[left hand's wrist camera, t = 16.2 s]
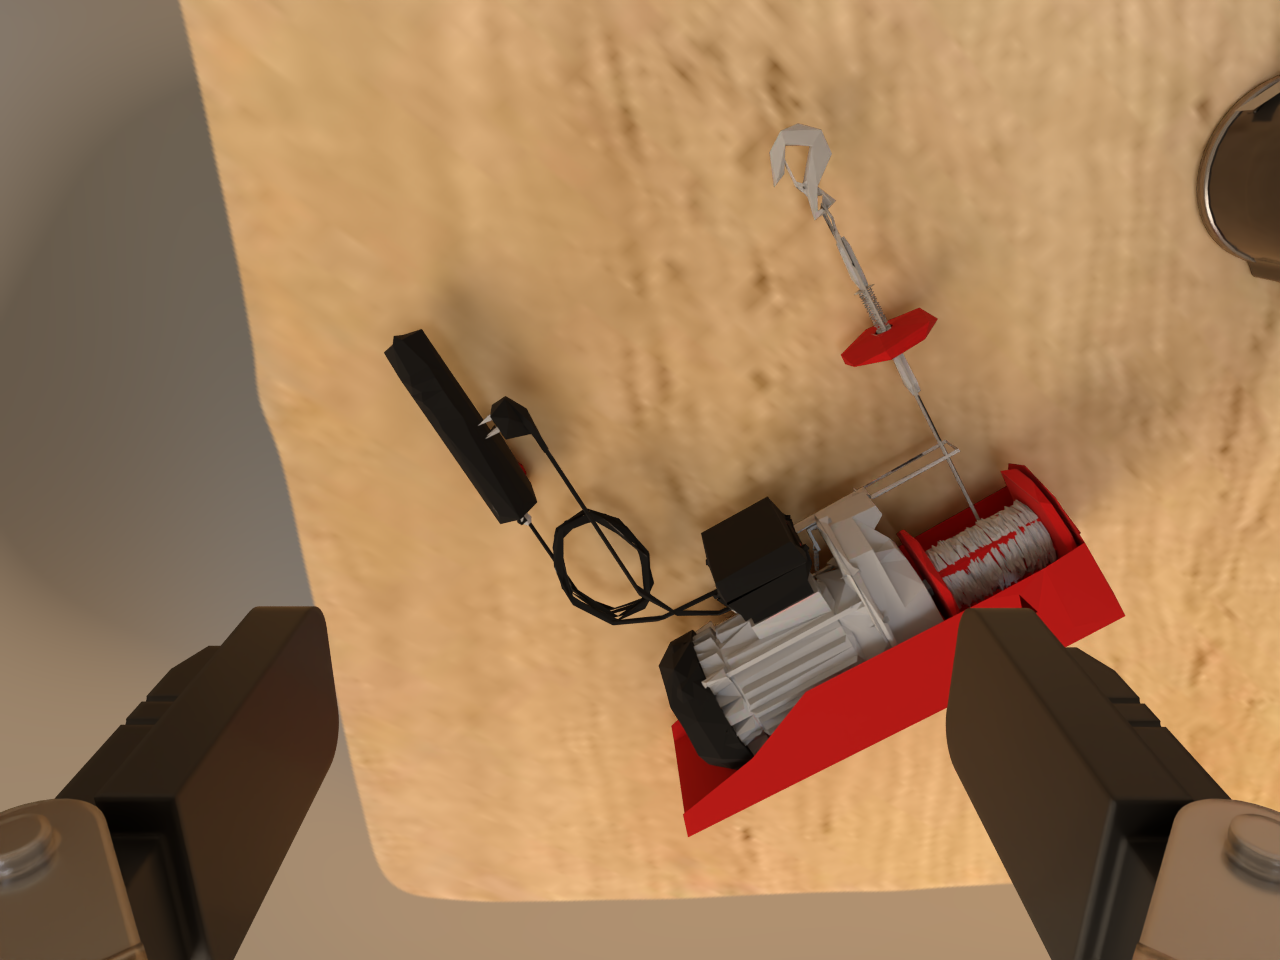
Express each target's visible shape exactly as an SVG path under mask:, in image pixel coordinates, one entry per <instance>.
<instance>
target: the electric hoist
mask: <svg viewBox="0 0 1280 960" xmlns="http://www.w3.org/2000/svg"><path fill="white" fill-rule="evenodd" d="M793 145H802V146H809V152H808V158H807V164H806V169H805V175H804V176H803V177H804V181H803V183H799V182H796V180H795V178H794V176H793V174H792V172H791V170H790V168H789V166H788V164H787V162H786V161H785V146H793ZM769 153H770V160H771V168H772V175H773V183H774V187H775V186H776V184H777V183H778V182H779V180H780V179H781V178H782V176H783V175H784V166H786V168H787V170H788V172H789V174H790V176H791V178H792V180H793V182H794V185H795V187H796V188H797V189H799V190H800V191H801V192H803V193H804V194H805V195H806V196H807V197H808V201H809V204H810V207H811V211H812V214H813V217H814V220H816V219H817V218H819V217H820V216H822V215H823V217H824V219H825V221H826V222H827V224H828V226H829V228H830V230H831V232H832V234H833V236H834V238H835V240H836V241H837V243H836V245H837V247H838V250H839V252H840V254H841V256H842V259H843V261H844V263H845V266H846V268H847V270H848V273H849V275H850V277H851V279H852V281H853V282H854V283H855V284H856V286H857V287H858V288H859V289H860V290H858V291H857V292H856V293H855V294H854V295H857V294H859V296H860V298H861V299H862V300H863V298H864V297H865V298H864V300H863V301H861V302H864V303H863V304H865V305H864V306H866V307H865V308H867V312H869V314H870V315H869V317H870V316H872V317H873V316H874V318H875V319H872V317H871V318H870V319H872V320H874V321H875V320H876V322H874V321H873V323H874V324H873V325H875V324H876V325H875V326H873V327H871V328H868V329H866V330H865V331H864V332H863V333H862V334H861V335H860V336H859V337H858V338H857V339H856V340H855V341H854V342H853V343H852V344H851V345H850V346H849V347H848V348H847V349H846V350H845V351H844V352H843V353H842V354H841V356H842V358H843V360H844V362H845V364H847V365H850V366H853V367H857V366H862V365H867V364H872V363H877V362H882V361H887V360H892V359H893V360H894V363H895V365H896V367H897V370H898V372H899V374H900V377H901V379H902V381H903V384H904V385H905V387H906V388H907V389H908V390H909V391H910V393H911V394H912V395H913V396H915V398H916V400H917V402H918V404H919V406H920V408H921V410H922V412H923V414H924V416H925V418H926V420H927V422H928V424H929V426H930V428H931V430H932V432H933V434H934V436H935V438H936V440H937V442H938V444H937V445H935V446H933V447H932V448H930V449H928V450H926V451H925V452H923V453H921V454H919V455H918V456H916V457H914V458H912V459H911V460H909V461H907V462H905V463H904V464H902V465H900V466H898V467H897V468H895V469H893V470H891V471H890V472H888V473H886V474H884V475H883V476H881V477H879V478H877V479H876V480H874V481H872V482H870V483H869V484H867V485H865V486H863V487H862V488H860V489H858V490H857V489H855V488H854V487H853V491H854V492H852V493H851V494H849V495H847V496H845V497H843V498H841V499H840V500H838V501H836V502H834V503H832V504H831V505H829V506H827V507H825V508H824V509H822V510H820V511H818V512H816V513H815V514H813V515H811V516H809V517H807V518H806V519H804V520H802V521H800V522H798V523H797V524H795V525H793V522H792V519H790V516H791V515H785V514H783V513H782V512H781V511H780V510H779V509H778V508H777V507H776V505H775V504H774V503H773V502H772V501H771V500H770V499H769V498H768V497H766V498H764V499H762V500H761V501H759V502H757V503H755V504H753V505H751V506H750V507H748V508H746V509H744V510H742V511H741V512H739V513H737V514H735V515H733V516H731V517H730V518H728V519H726V520H724V521H722V522H721V523H719V524H717V525H715V526H713V527H712V528H710V529H708V530H706V531H704V532H702V533H701V535H702V540H703V544H704V549H705V553H706V558H707V559H706V565H708V566H709V568H710V570H711V573H712V576H713V578H714V581H715V584H716V588H717V589H715V590H713V591H711V592H709V593H707V594H705V595H703V596H701V597H699V598H697V599H695V600H693V601H691V602H689V603H687V604H685V605H683V606H681V607H679V608H677V609H675V610H673V609H671V608H670V607H668V606H667V605H665V604H664V603H663V602H661V601H660V600H658V599H657V598H655V597H654V596H652V595H651V594H650V591H651V588H652V586H653V584H654V581H653V577H652V573H651V569H650V558H649V551H648V550H647V549H646V548H645V547H644V546H643V545H642V544H641V543H640V541H639V540H638V539H637V538H636V537H635V536H634V534H633V533H632V532H631V531H630V530H629V528H628V527H627V526H625V525H624V524H623V522H622V521H621V520H620V519H619V518H616V517H612V516H609V515H607V514H603V513H600V512H597V511H593V510H590V509H587V508H586V506H585V505H584V503H583V502H582V500H581V499H580V497H579V496H578V494H577V493H576V491H575V490H574V488H573V487H572V485H571V484H570V482H569V480H568V479H567V477H566V476H565V474H564V473H563V471H562V470H561V468H560V467H559V465H558V464H557V462H556V461H555V459H554V458H553V456H552V455H551V453H550V451H549V450H548V447H547V445H546V444H545V442H544V440H543V439H542V437H541V435H540V433H539V431H538V429H537V427H536V426H535V424H534V422H533V420H532V418H531V416H530V414H529V412H528V410H527V409H526V408H525V407H523V406H521V405H520V404H518V403H516V402H515V401H513V400H511V399H509V398H508V397H506V396H505V397H503V398H502V399H500V400H499V401H497V402H496V403H494V404H493V405H492V408H491V414H490V415H489V416H488V417H487V418H486V419H484V420H483V418H482V417H481V416H480V414H479V413H478V411H477V410H476V408H475V407H474V405H473V404H472V402H471V401H470V399H469V398H468V396H467V395H466V394H465V392H464V391H463V389H462V388H461V386H460V385H459V383H458V382H457V380H456V379H455V377H454V376H453V374H452V373H451V371H450V370H449V369H448V367H447V366H446V364H445V363H444V361H443V360H442V358H441V357H440V355H439V354H438V352H437V351H436V349H435V348H434V346H433V345H432V344H431V342H430V341H429V339H428V338H427V336H426V335H425V333H424V332H423V330H422V329H421V330H417V331H414V332H411V333H408V334H405V335H399V336H394V339H393V345H392V346H391V347H389V348H388V349H387V350H386V351H385V352H384V354H385V355H386V357H387V359H388V360H389V362H390V363H391V365H392V367H393V368H394V370H395V372H396V373H397V375H398V377H399V378H400V380H401V381H402V383H403V384H404V386H405V387H406V389H407V390H408V391H409V393H410V394H411V396H412V397H413V399H414V400H415V401H416V403H417V404H418V406H419V407H420V409H421V410H422V411H423V413H424V414H425V416H426V417H427V419H428V420H429V422H430V423H431V424H432V426H433V427H434V429H435V430H436V432H437V433H438V435H439V436H440V437H441V439H442V440H443V442H444V443H445V445H446V446H447V448H448V449H449V450H450V452H451V453H452V455H453V456H454V458H455V459H456V461H457V462H458V464H459V465H460V466H461V468H462V469H463V471H464V472H465V474H466V475H467V477H468V478H469V479H470V481H471V482H472V484H473V485H474V487H475V488H476V490H477V491H478V492H479V494H480V495H481V497H482V498H483V500H484V501H485V503H486V504H487V505H488V507H489V508H490V510H491V511H492V513H493V514H494V516H495V517H496V518H497V520H498V521H499V523H500V524H503V523H507V522H511V521H515V520H517V522H518V523H519V524H521V525H523V524H525V525H529V526H530V528H531V529H532V531H533V532H534V534H535V535H536V537H537V538H538V540H539V541H540V542H541V544H542V545H543V547H544V548H545V550H546V551H547V553H548V554H549V555H550V557H551V558H552V560H553V561H554V568H555V570H556V573H557V575H558V578H559V580H560V583H561V587H562V589H563V590H564V592H565V593H566V595H567V596H568V598H569V600H570V601H571V603H572V604H573V605H574V606H576V607H578V608H580V609H582V610H584V611H586V612H588V613H590V614H592V615H594V616H596V617H598V618H600V619H601V620H603V621H605V622H607V623H609V624H611V625H621V624H633V623H644V622H655V621H660V620H663V619H666V618H668V617H670V616H672V615H674V614H675V615H677V616H694V615H721V614H723V613H726V612H728V611H730V610H732V611H734V612H735V613H738V614H737V615H735V616H733V617H731V618H729V619H727V620H725V621H724V622H722V623H720V624H718V625H716V626H714V625H713V623H712V622H711V621H710V622H709V623H707V624H706V625H705V626H703V627H702V628H700V629H699V630H697V631H696V632H694V631H693V630H691V631H690V632H688V633H686V634H684V635H683V636H681V637H679V638H677V639H675V640H674V641H672V642H670V644H669V646H668V648H667V650H666V652H665V654H664V656H663V658H662V660H661V662H660V664H659V668H660V671H661V675H662V678H663V682H664V685H665V689H666V692H667V696H668V700H669V704H670V708H671V709H672V711H673V712H674V714H675V716H676V717H677V719H678V720H677V721H676V722H675V723H674V724H673V725H672V732H673V738H674V744H675V751H676V758H677V764H678V771H679V778H680V785H681V792H682V799H683V806H684V812H685V813H684V814H683V816H684V821H685V825H686V830H687V834H688V837H690V836H692V835H694V834H696V833H698V832H700V831H702V830H704V829H706V828H708V827H710V826H712V825H714V824H716V823H718V822H720V821H722V820H724V819H726V818H728V817H730V816H732V815H734V814H736V813H738V812H740V811H742V810H744V809H746V808H748V807H750V806H752V805H754V804H756V803H758V802H760V801H762V800H764V799H766V798H767V797H769V796H771V795H773V794H775V793H777V792H779V791H781V790H783V789H785V788H787V787H789V786H791V785H793V784H795V783H797V782H799V781H801V780H803V779H805V778H807V777H809V776H811V775H813V774H815V773H817V772H819V771H821V770H823V769H825V768H827V767H829V766H831V765H833V764H835V763H837V762H839V761H841V760H843V759H845V758H847V757H849V756H851V755H853V754H855V753H857V752H859V751H861V750H863V749H865V748H867V747H869V746H871V745H873V744H875V743H877V742H879V741H881V740H883V739H885V738H887V737H889V736H891V735H893V734H895V733H897V732H899V731H901V730H903V729H905V728H907V727H909V726H911V725H913V724H915V723H917V722H919V721H921V720H923V719H925V718H927V717H929V716H931V715H933V714H935V713H937V712H939V711H941V710H943V709H945V708H947V705H948V698H949V691H950V684H951V677H952V670H953V662H954V655H955V648H956V641H957V634H958V627H959V622H960V619H961V616H962V614H963V613H964V611H965V610H966V609H968V608H1030V609H1032V610H1033V611H1034V612H1035V613H1036V614H1037V615H1038V616H1039V617H1040V619H1041V620H1042V621H1043V622H1044V623H1045V625H1046V626H1047V627H1048V628H1049V629H1050V630H1051V632H1052V633H1053V634H1054V635H1055V636H1056V637H1057V639H1058V640H1059V641H1060V642H1061V643H1062V645H1063V646H1064V647H1067V646H1069V645H1071V644H1073V643H1075V642H1076V641H1078V640H1080V639H1082V638H1084V637H1086V636H1088V635H1090V634H1092V633H1094V632H1096V631H1098V630H1099V629H1101V628H1103V627H1105V626H1107V625H1109V624H1111V623H1113V622H1115V621H1117V620H1119V619H1120V618H1122V617H1124V616H1125V614H1124V612H1123V610H1122V608H1121V606H1120V604H1119V603H1118V601H1117V599H1116V597H1115V595H1114V593H1113V591H1112V589H1111V588H1110V586H1109V584H1108V582H1107V581H1106V579H1105V577H1104V575H1103V574H1102V572H1101V570H1100V568H1099V567H1098V565H1097V563H1096V561H1095V560H1094V558H1093V556H1092V554H1091V553H1090V551H1089V549H1088V547H1087V546H1086V544H1085V542H1084V541H1083V539H1082V538H1081V536H1080V535H1079V534H1080V533H1081V532H1080V531H1079V530H1078V528H1077V527H1076V526H1075V524H1074V523H1073V522H1072V520H1071V519H1070V518H1069V517H1068V515H1067V514H1066V513H1065V511H1064V510H1063V509H1062V507H1061V505H1060V504H1059V502H1058V501H1057V499H1056V498H1055V497H1054V496H1053V495H1052V494H1051V493H1050V491H1049V490H1048V489H1047V488H1046V487H1045V486H1044V485H1043V484H1042V483H1041V482H1040V481H1039V480H1038V479H1037V478H1036V477H1035V476H1034V475H1033V474H1032V473H1031V471H1030V470H1029V469H1028V468H1027V467H1026V466H1025V465H1017V464H1008V470H1005V471H1001V473H1002V476H1003V478H1004V480H1005V483H1006V485H1007V486H1006V487H1004V488H1002V489H1001V490H999V491H997V492H995V493H994V494H992V495H990V496H988V497H986V498H985V499H983V500H981V501H979V502H977V503H976V504H974V505H973V504H972V502H971V500H970V498H969V496H968V494H967V492H966V490H965V488H964V485H963V483H962V481H961V479H960V477H959V475H958V473H957V471H956V469H955V467H954V465H953V463H952V461H951V459H950V457H951V456H953V455H954V454H956V453H958V452H960V450H959V449H958V448H956V447H955V446H954V445H952V444H951V443H949V442H948V441H946V440H944V441H941V439H940V437H939V435H938V433H937V431H936V429H935V427H934V425H933V423H932V421H931V419H930V417H929V415H928V413H927V411H926V409H925V407H924V404H923V402H922V400H921V398H920V396H919V394H918V392H920V391H921V390H920V387H919V384H918V382H917V380H916V378H915V376H914V374H913V372H912V370H911V368H910V366H909V364H908V362H907V360H906V358H905V356H904V355H903V352H905V351H907V350H908V349H910V348H911V347H913V346H915V345H916V344H918V343H919V342H921V341H923V340H924V339H925V338H926V337H927V335H928V334H929V332H930V330H931V329H932V327H933V326H934V324H935V323H936V321H937V318H936V317H934V316H932V315H931V314H929V313H927V312H926V311H924V310H922V309H921V308H917V309H915V310H912V311H910V312H908V313H905V314H903V315H900V316H898V317H895V318H893V319H890V320H888V321H887V320H886V317H885V315H884V314H883V312H880V311H882V310H881V309H882V308H880V307H881V306H879V304H878V303H879V302H877V298H875V297H876V296H874V295H875V294H874V295H873V296H871V295H872V293H873V292H874V291H872V289H871V287H872V286H873V285H874V284H873V285H869V286H868V283H867V280H866V278H865V275H864V273H863V271H862V269H861V267H860V265H859V263H858V261H857V259H856V257H855V254H854V252H853V250H852V248H851V246H850V244H849V243H848V242H847V240H846V239H845V237H842V238H841V236H840V234H839V232H838V230H837V228H836V225H835V222H834V218H833V216H832V215H831V213H830V212H829V210H828V208H829V207H830V206H831V205H832V204H833V203H834V202H835V201H836V200H835V199H833V198H832V197H831V196H829V195H828V194H827V193H825V192H824V191H823V190H821V189H820V188H819V187H817V186H818V184H819V182H820V180H821V177H822V175H823V173H824V170H825V168H826V166H827V163H828V161H829V159H830V156H831V154H832V153H831V151H830V148H829V146H828V144H827V142H826V139H825V137H824V135H823V133H822V130H820V129H817V128H813V127H809V126H806V125H802V124H795V125H793V126H791V127H789V128H786V129H784V130H782V131H780V133H779V135H778V137H777V139H776V141H775V143H774V145H773V147H772V148H771V150H770V152H769ZM821 195H823V198H822V203H821V209H820V210H819V211H818V196H821ZM826 212H827V213H826ZM827 214H828V215H829V217H830V218H831V220H832V224H833V226H832V224H831V222H830V220H829V218H828V216H827ZM826 217H827V218H826ZM827 219H828V220H827ZM869 288H870V289H869ZM868 289H869V290H868ZM870 290H871V291H870ZM868 291H870V292H868ZM871 292H872V293H871ZM861 293H863V294H861ZM870 293H871V294H870ZM860 294H861V295H862V296H861V295H860ZM863 295H864V296H863ZM872 297H873V298H872ZM865 299H866V300H865ZM873 299H874V300H873ZM872 300H873V301H872ZM874 301H875V302H874ZM865 302H866V303H865ZM874 303H875V304H874ZM876 303H877V304H876ZM866 304H868V305H866ZM877 305H878V306H877ZM867 306H869V307H867ZM876 306H877V308H876ZM878 307H879V308H878ZM868 308H870V309H868ZM879 309H880V310H879ZM868 310H869V311H868ZM870 310H871V311H870ZM878 310H879V311H878ZM871 312H872V313H871ZM879 312H880V313H879ZM872 314H873V315H872ZM880 314H881V316H883V317H884V318H883V317H881V316H880ZM882 318H883V319H882ZM883 320H884V321H883ZM491 420H493V422H494V423H495V425H496V426H497V427H496V426H495V425H494V426H493V428H492V429H491V430H490V429H489V427H488V426H487V424H486V422H488V421H491ZM499 432H501V433H502V435H503V436H504V437H505V439H510V438H515V437H519V436H524V435H528V434H532V435H533V437H534V438H535V439H536V441H537V443H538V444H539V446H540V447H541V449H542V450H543V451H544V453H546V455H547V456H548V458H549V459H550V461H551V462H552V464H553V465H554V467H555V468H556V470H557V471H558V473H559V474H560V476H561V477H562V479H563V480H564V482H565V483H566V485H567V486H568V488H569V490H570V491H571V493H572V494H573V496H574V497H575V499H576V500H577V502H578V503H579V505H580V506H581V508H582V509H583V510H582V511H580V512H579V513H577V514H576V515H574V516H573V517H572V518H570V519H569V520H567V521H565V522H564V523H563V524H561V525H560V526H558V527H557V528H556V531H555V535H554V543H553V553H552V552H551V550H550V549H549V547H548V546H547V545H546V543H545V542H544V540H543V539H542V537H541V536H540V535H539V533H538V532H537V530H536V529H535V527H534V526H533V524H532V523H531V516H530V515H529V514H528V513H527V512H528V511H529V510H530V509H531V508H532V507H533V506H534V505H535V504H536V503H537V500H536V497H535V494H534V491H533V488H532V485H531V482H530V481H529V479H528V478H527V476H526V471H525V469H524V467H523V466H522V464H520V463H518V462H517V460H516V458H515V457H514V455H513V454H512V452H511V450H510V449H509V447H508V446H507V444H506V442H505V441H504V439H503V438H502V436H501V434H500V433H499ZM945 443H947V444H948V445H950V446H951V447H953V448H954V449H955V450H954V451H953V452H951V453H949V454H948V453H947V451H946V449H945V447H944V444H945ZM938 447H940V448H941V450H942V452H943V454H944V456H943V457H941V458H940V459H938V460H936V461H934V462H932V463H930V464H928V465H927V466H925V467H923V468H921V469H919V470H917V471H915V472H913V473H912V474H910V475H908V476H906V477H904V478H902V479H900V480H899V481H897V482H895V483H893V484H891V485H889V486H887V487H886V488H884V489H882V490H880V491H878V492H876V493H874V494H872V495H870V493H869V492H868V491H867V490H866V489H865V488H866V487H868V486H870V485H872V484H873V483H875V482H877V481H879V480H881V479H882V478H884V477H886V476H888V475H890V474H891V473H893V472H895V471H897V470H899V469H900V468H902V467H904V466H906V465H908V464H909V463H911V462H913V461H915V460H917V459H918V458H920V457H922V456H924V455H926V454H927V453H929V452H931V451H933V450H935V449H936V448H938ZM945 459H946V460H947V462H948V464H949V466H950V468H951V470H952V472H953V474H954V476H955V478H956V480H957V482H958V484H959V486H960V488H961V490H962V492H963V494H964V496H965V498H966V500H967V502H968V504H969V506H970V507H968V508H967V509H965V510H963V511H961V512H960V513H958V514H956V515H954V516H952V517H951V518H949V519H947V520H945V521H943V522H942V523H940V524H938V525H936V526H934V527H933V528H931V529H929V530H927V531H926V532H924V533H922V534H920V535H918V536H917V537H915V538H913V537H912V536H911V535H910V534H908V533H907V532H906V531H905V530H904V529H903V530H901V531H899V532H898V533H897V536H898V537H899V539H900V541H901V542H902V545H900V546H899V547H898V546H897V544H896V543H895V542H894V541H893V540H891V539H890V538H888V537H887V536H885V535H883V534H881V533H879V532H878V531H876V530H874V529H875V527H876V525H877V524H878V522H879V520H880V518H881V516H882V515H883V514H882V513H881V512H880V511H879V509H878V508H877V507H876V505H875V504H874V503H873V502H872V500H871V499H874V498H876V497H878V496H880V495H882V494H884V493H885V492H887V491H889V490H891V489H893V488H894V487H896V486H898V485H900V484H902V483H904V482H905V481H907V480H909V479H911V478H913V477H914V476H916V475H918V474H920V473H922V472H924V471H925V470H927V469H929V468H931V467H933V466H934V465H936V464H938V463H940V462H942V461H944V460H945ZM870 498H871V499H870ZM583 515H584V516H583ZM595 521H596V522H598V523H599V524H601V525H603V526H605V527H606V528H608V529H610V530H612V531H613V532H615V533H617V534H618V535H619V536H621V537H622V538H623V539H624V540H626V541H627V542H628V543H629V544H630V545H632V546H633V547H634V548H635V549H637V551H638V553H639V556H640V561H641V565H642V576H643V587H644V589H642V588H641V587H639V586H638V585H637V584H636V583H635V581H634V580H633V578H632V577H631V575H630V574H629V572H628V571H627V569H626V567H625V566H624V564H623V563H622V561H621V560H620V558H619V557H618V555H617V554H616V552H615V551H614V549H613V548H612V546H611V545H610V543H609V542H608V540H607V538H606V537H605V535H604V534H603V532H602V531H601V529H600V528H599V526H598V525H597V523H596V522H595ZM590 522H591V523H592V524H593V526H594V527H595V529H596V531H597V532H598V534H599V535H600V537H601V538H602V540H603V541H604V543H605V544H606V546H607V547H608V549H609V550H610V552H611V553H612V555H613V556H614V558H615V559H616V561H617V562H618V564H619V565H620V567H621V569H622V570H623V572H624V573H625V575H626V576H627V578H628V579H629V581H630V582H631V584H632V585H633V587H634V588H635V590H636V591H637V593H638V594H639V596H641V597H642V598H641V599H638V600H636V601H633V602H630V603H628V604H625V605H622V606H619V607H616V608H614V607H611V606H608V605H605V604H602V603H600V602H597V601H594V600H593V599H591V598H590V597H588V596H587V595H585V594H584V593H582V592H580V591H579V590H578V589H577V588H576V586H575V585H574V584H573V582H572V581H571V579H570V578H569V576H568V575H567V572H566V567H565V563H564V558H563V538H564V537H565V536H566V535H567V534H568V533H569V532H570V531H571V530H572V529H573V528H576V527H579V526H581V525H584V524H586V523H590ZM804 529H806V530H807V532H808V534H809V536H810V538H811V540H812V542H813V544H814V546H815V547H816V549H817V551H818V552H819V551H820V550H821V549H820V547H819V546H818V544H817V542H816V540H815V538H814V537H813V535H812V533H811V530H815V529H818V530H819V532H820V533H821V535H822V537H823V538H824V540H825V542H826V544H827V545H828V547H829V549H830V551H831V552H832V554H833V557H832V558H831V559H830V560H829V561H828V562H827V564H828V565H827V566H826V567H824V568H822V569H821V570H819V562H818V561H819V554H818V552H817V551H814V552H813V553H814V554H818V556H816V555H814V558H818V560H814V563H818V564H815V565H814V566H815V567H818V569H817V568H815V571H817V572H815V573H813V574H811V573H810V570H811V566H812V561H811V558H810V555H809V552H808V549H809V547H808V546H807V545H806V544H804V545H802V543H801V541H800V539H799V537H798V535H797V533H799V532H801V531H803V530H804ZM632 542H633V543H634V544H635V545H634V544H633V543H632ZM814 546H813V550H816V549H814ZM816 552H817V553H816ZM815 556H816V557H815ZM833 568H835V570H832V571H831V569H833ZM827 571H829V572H827ZM815 578H817V580H815ZM573 592H574V593H576V594H577V595H576V594H574V593H573ZM572 594H574V595H575V596H577V597H578V598H579V599H581V600H582V601H584V602H585V603H586V604H585V603H583V602H581V601H580V600H578V599H577V598H575V597H574V596H573V595H572ZM578 595H579V596H578ZM711 596H713V597H714V599H717V598H718V599H717V600H718V601H719V602H721V603H722V604H724V605H725V606H727V607H726V608H724V609H722V610H720V611H687V610H685V609H687V608H689V607H691V606H693V605H695V604H697V603H699V602H701V601H703V600H705V599H707V598H709V597H711ZM649 601H651V602H652V603H654V604H656V605H658V606H660V607H662V608H664V609H666V610H667V611H669V612H668V613H666V614H664V615H661V616H652V617H642V618H632V619H623V618H625V617H628V616H630V615H632V614H634V613H636V612H639V611H641V610H643V609H645V608H646V606H647V604H648V602H649ZM631 604H632V605H631ZM628 605H629V606H628ZM624 606H626V607H624ZM621 607H623V608H621ZM617 608H620V609H617ZM614 609H617V610H614ZM610 610H614V611H610ZM624 610H626V611H624ZM620 611H624V612H623V613H621V614H620V615H616V614H614V613H617V612H620ZM622 615H623V616H622ZM618 616H622V617H620V618H619V619H616V618H614V617H618ZM621 619H623V620H621Z"/></svg>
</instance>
